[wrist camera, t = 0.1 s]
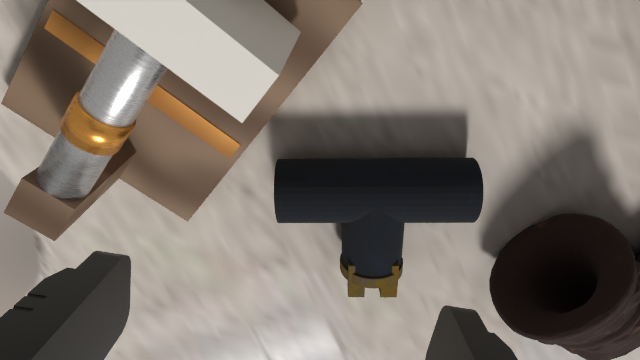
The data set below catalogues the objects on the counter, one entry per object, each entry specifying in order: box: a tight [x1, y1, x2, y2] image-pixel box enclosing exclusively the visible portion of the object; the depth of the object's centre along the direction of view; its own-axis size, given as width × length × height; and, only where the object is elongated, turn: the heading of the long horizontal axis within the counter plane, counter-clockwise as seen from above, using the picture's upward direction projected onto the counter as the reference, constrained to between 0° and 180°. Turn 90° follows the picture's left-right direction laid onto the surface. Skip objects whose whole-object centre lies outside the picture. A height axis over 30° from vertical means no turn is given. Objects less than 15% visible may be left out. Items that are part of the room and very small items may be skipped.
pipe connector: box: [274, 158, 483, 297], centre depth 33 cm, size 12×5×15 cm
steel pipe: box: [35, 29, 168, 201], centre depth 22 cm, size 22×3×3 cm, turn 141°
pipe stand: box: [1, 0, 362, 241], centre depth 25 cm, size 22×16×10 cm
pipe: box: [489, 214, 640, 360], centre depth 34 cm, size 10×15×15 cm
